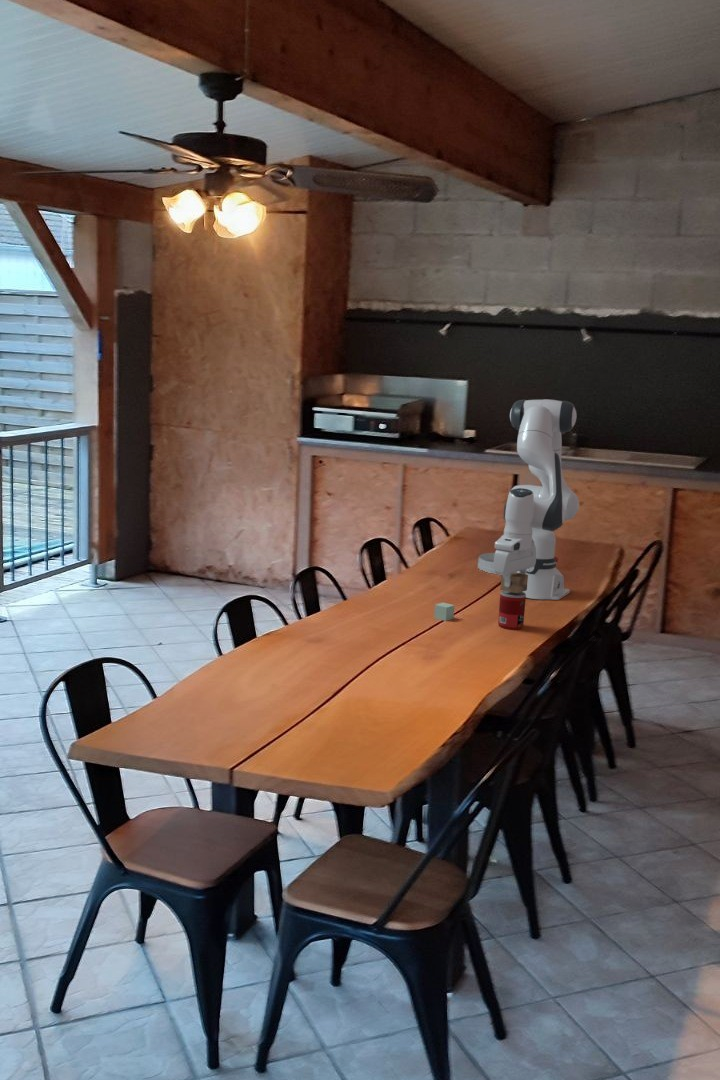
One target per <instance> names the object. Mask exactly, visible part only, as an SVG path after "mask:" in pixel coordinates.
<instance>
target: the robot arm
mask: <svg viewBox="0 0 720 1080" xmlns="http://www.w3.org/2000/svg"><path fill="white" fill-rule="evenodd" d="M509 419H510V420H509V421H510V423H511V424H510V425H511V427H513V428H514V429H515V430H516V431H518V434H517V441H516V451H517V454H518V457H519V458H521V461H523V462H525V463H526V464H527V465H528V469H529V472H530V473H531V474H532V475H533V476H535V477H536V478H537V479H538V480H539V481H540V483H541V485H542V486H541V485H536V484H535V485H534V484H520V485H514V486H513V487H512V488H511V489H510V491H508V495H507V500H506V502H505V503H504V507H503V520H504V521H505V526H504V529H503V535H501V536H500V537H499V538H498V539H497V540H496V541H495V542H494V549H496V550H495V552H494V553H495V556H494V571H495V573H496V574H500V575H503V577H504V580H505V584H504V585H505V586H506V587H510V586H512V581H511V579H510V576H511V573H513V572H517V573H522V574H527V575H528V583H527V590H526V591H523V592H524V593H525V594H526V598H527V599H532V600H555V601H558V600H560V599H562V598H564V597H566V596H567V595H568V594H569V593H570V592H571V590H570V589H569V588H566V587H564V586H565V578H564V575H563V574H562V573H561V572H560V570H558V569H557V563H559V562H560V560H561V559H560V556H555V553H556V552H555V551H556V540H557V538H556V536H555V533H554V532H555V531H557V530H558V529H559V528H561V527H562V526H563V525H564V522H565V520H566V521H567V520H568V521H569V520H572V519H574V518H575V516H576V515H577V514H578V512H579V509H580V501H579V497H578V496H577V494H576V493H575V492H574V491H573V490H572V489H571V488H570V487H569V485H568V484H567V482H566V480H565V478H564V475H563V471H562V450H563V449H562V447H563V446H562V445H563V444H562V443H563V441H562V440H563V439H562V435H564V434H565V433H567V432H568V433H569V432H570V431H571V430H573V429H574V426H575V424H576V421H577V410H576V407H575V405H574V404H573V402H570V401H567V400H556V399H544V398H543V399H528V400H527V399H519V400H516V401H515V402H514V403H513V404H512V406H511V409H510V412H509ZM570 594H571V593H570Z"/></svg>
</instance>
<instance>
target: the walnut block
mask: <svg viewBox="0 0 720 1080" xmlns="http://www.w3.org/2000/svg"><path fill="white" fill-rule="evenodd" d="M510 579H511V581H512V586H510V587H506V586H505V585H504V584H505V580H504V577H503V575H502V576H501V579H500V590H501V591H503V590H504V591H509V592H513V593H520V592H523V591H526V590H527V583H528V575H527V574H522V573H517V572H513V573H511V576H510Z"/></svg>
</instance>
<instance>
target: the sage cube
mask: <svg viewBox="0 0 720 1080" xmlns="http://www.w3.org/2000/svg"><path fill="white" fill-rule="evenodd" d="M433 612H434V614H433V616H434V617H433V618H434V619H437V620H440V621H444V622H447V621H450V620H453V619H454V618H455V616H454V615H455V604H451V603H447V602H439V603H436V604H435V605H434V611H433Z"/></svg>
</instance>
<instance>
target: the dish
mask: <svg viewBox="0 0 720 1080" xmlns="http://www.w3.org/2000/svg"><path fill="white" fill-rule="evenodd" d="M494 556H495V552H486V553H482V554H480V555H478V560H477V561H478V562H477V569H478V568H479V569H480V570H483V571H485V572H488V573H494V574H496V573H495V571H494ZM480 570H479V571H480ZM488 573H487V574H488ZM499 575H500V574H499ZM499 575H498V576H499Z"/></svg>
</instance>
